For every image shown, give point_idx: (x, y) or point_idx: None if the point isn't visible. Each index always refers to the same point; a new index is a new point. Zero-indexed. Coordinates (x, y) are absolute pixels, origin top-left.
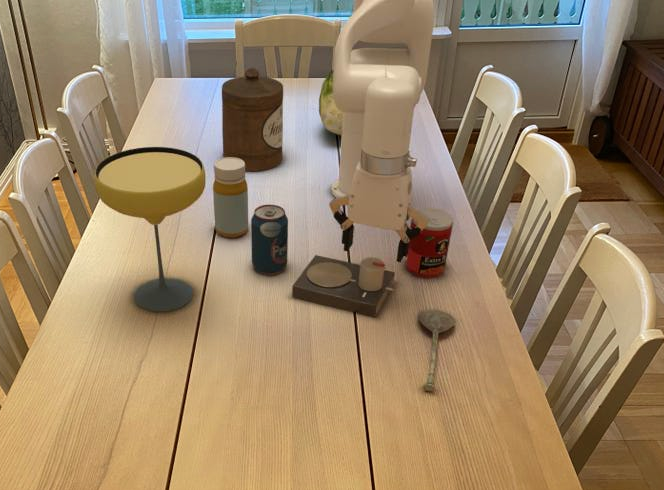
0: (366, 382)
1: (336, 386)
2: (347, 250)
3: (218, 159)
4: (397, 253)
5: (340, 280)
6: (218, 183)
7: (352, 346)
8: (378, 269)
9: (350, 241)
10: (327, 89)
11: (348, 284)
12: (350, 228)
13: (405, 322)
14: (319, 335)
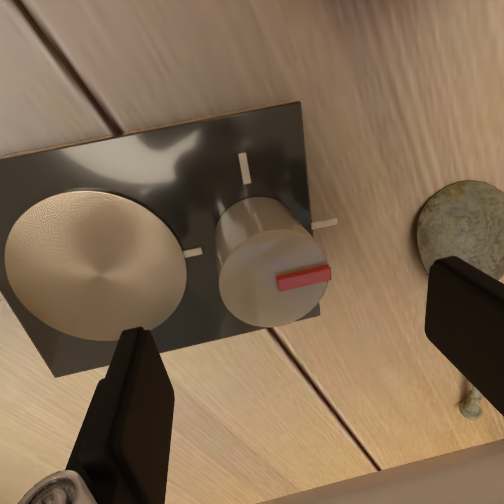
0: (364, 438)
1: (324, 467)
2: (173, 396)
3: None
4: (457, 368)
5: (159, 282)
6: None
7: (305, 392)
8: (316, 304)
9: (158, 398)
10: None
11: (192, 277)
12: (134, 498)
13: (382, 266)
14: (228, 406)
